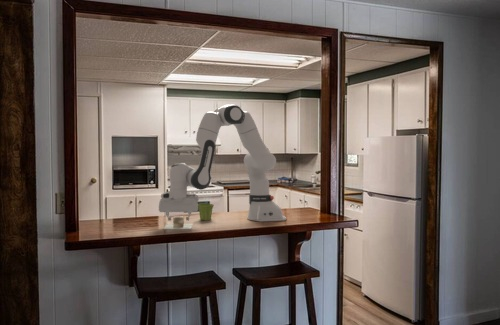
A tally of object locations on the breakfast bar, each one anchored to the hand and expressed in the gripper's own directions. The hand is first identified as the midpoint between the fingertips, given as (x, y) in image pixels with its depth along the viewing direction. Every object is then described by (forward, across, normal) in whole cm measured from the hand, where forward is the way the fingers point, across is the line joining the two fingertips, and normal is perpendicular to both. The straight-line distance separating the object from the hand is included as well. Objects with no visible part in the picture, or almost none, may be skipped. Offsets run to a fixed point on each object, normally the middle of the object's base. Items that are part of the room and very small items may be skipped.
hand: (178, 220), depth 222 cm
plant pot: (+4, -13, -21) cm, 25 cm away
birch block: (+3, 0, 0) cm, 3 cm away
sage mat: (+3, 0, 0) cm, 3 cm away
